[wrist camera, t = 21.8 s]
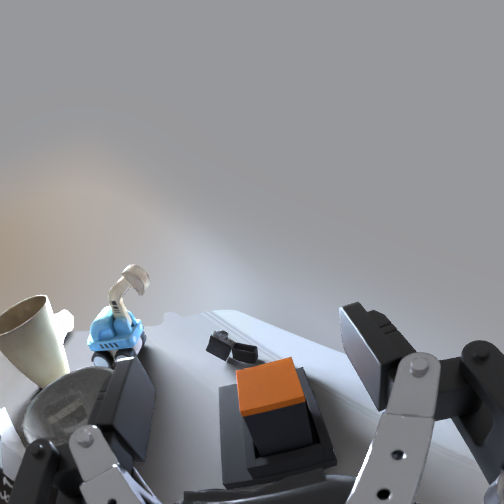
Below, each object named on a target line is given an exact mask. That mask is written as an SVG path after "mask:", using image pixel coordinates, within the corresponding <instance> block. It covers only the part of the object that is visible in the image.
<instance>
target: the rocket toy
mask: <svg viewBox="0 0 504 504" xmlns="http://www.w3.org/2000/svg"><path fill="white" fill-rule="evenodd" d="M0 435H1V441H2V442H3V443H4V444H5V445H6V446H7V447H8V448H10V449H11V450H12V451H13V452H14V453H15V454H17V455H18V456H19V457H20V458H21V459H23V456H24V453H25V451H26V449H25V447H24V446H23V444H22V442H21V440H20V438H19V436H18V434H17V432H16V430H15V428H14V426H13V424H12V422H11V420H10V418H9V416H8V414H7V412H6V410H5V407H4V408H3V409H1V410H0Z"/></svg>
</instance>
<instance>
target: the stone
mask: <svg viewBox="0 0 504 504" xmlns="http://www.w3.org/2000/svg"><path fill="white" fill-rule="evenodd" d="M54 318H55V321H56V324H57V327H58V330H59V333H60V337H61V340H62V344H63V342H64V337H65V336H66V334H67V333H68V332H69V331H71V330H72V329H73V316H72V315H71V314H70V313H69V312H68V311H67V310H64V311H62V312H60V313H58V314H54Z"/></svg>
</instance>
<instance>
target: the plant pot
mask: <svg viewBox="0 0 504 504" xmlns="http://www.w3.org/2000/svg"><path fill="white" fill-rule="evenodd" d="M0 350H1V352H2V353H3V354H4V355H5V356H6V357H7V358H8V360H9V361H10V362H11V363H12V364H13V365H14V366H15V367H16V368H17V369H19V370H20V371H21V372H22V373H23V374H24V375H25V376H26V377H28V378H29V379H30V380H31V381H33V382H34V383H35V384H37V385H38V386H40V387H41V388H43V389H44V388H45V387H46V386H48V385H49V384H50V383H52V382H54V381H55V380H56V379H58V378H60V377H61V376H63V375H65V374H68V373H70V371H69V367H68V363H67V359H66V355H65V351H64V347H63V344H62V340H61V337H60V333H59V330H58V327H57V324H56V321H55V318H54V315H53V312H52V309H51V306H50V304H49V301H48V298H47V296H45V295H38V296H34V297H31V298H28V299H25V300H23V301H21V302H19V303H17V304H15V305H14V306H13V307H11V308H9V309H8V310H6V311H5V312H4V313H2V314H1V315H0Z"/></svg>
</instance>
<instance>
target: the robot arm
mask: <svg viewBox="0 0 504 504" xmlns="http://www.w3.org/2000/svg"><path fill="white" fill-rule="evenodd" d="M339 316H340V326H341V336H342V343H343V347H344V350H345V352H346V354H347V356H348V358H349V360H350V361H351V363H352V365H353V367H354V368H355V370H356V372H357V374H358V376H359V377H360V379H361V381H362V383H363V384H364V386H365V388H366V390H367V392H368V393H369V395H370V397H371V399H372V401H373V402H374V404H375V406H376V408H377V410H378V411H382V410H384V409H386V411H385V412H383V414H382V416H381V418H380V421H379V424H378V427H377V430H376V432H375V435H374V438H373V441H372V443H371V446H370V448H369V451H368V454H367V456H366V459H365V461H364V464H363V466H362V468H361V471H360V473H359V475H358V478H357V477H352V476H346V475H325V472H324V469H323V467H322V468H319V469H315V470H311V471H308V472H304V473H300V474H296V475H292V476H288V477H286V478H283V479H281V480H279V481H277V482H274V483H272V484H270V485H267V486H265V487H262V488H260V489H257V490H255V491H237V490H224V489H209V490H197V491H184V500H183V501H180V502H177V503H175V504H419V503H416V502H415V498H416V495H417V492H418V489H419V486H420V482H421V479H422V475H423V471H424V468H425V464H426V460H427V456H428V452H429V447H430V443H431V438H432V433H433V428H434V422H435V421H438V420H443V419H448V418H451V419H452V421H453V422H454V424H455V426H456V427H457V429H458V431H459V432H460V434H461V436H462V437H463V439H464V441H465V442H466V444H467V446H468V447H469V449H470V451H471V453H472V454H473V456H474V458H475V459H476V461H477V463H478V465H479V467H480V468H481V470H482V472H483V474H484V476H485V477H486V479H487V481H488V483H489V485H490V486H489V488H488V489H487V491H486V493H485V496H484V504H504V355H503V354H502V353H501V352H500V351H499V349H498V348H497V347H496V346H494V345H493V344H492V343H489V342H487V341H480V340H478V341H473V342H470V343H469V344H467V345H466V346H465V347H464V348H463V351H462V355H461V357H456V358H451V359H446V360H438V359H437V358H436V357H435V356H433V355H431V354H428V353H423V352H416V350H415V349H414V348H413V347H412V346H411V345H410V343H409V342H408V341H407V340H406V339H405V338H404V337H403V335H402V334H401V333H400V332H399V331H398V330H397V329H396V327H395V326H394V325H393V324H391V322H390V321H389V319H388V318H387V317H386V316H385V315H384V314H382V313H379V312H377V311H375V310H372V311H369V312H367V311H366V310H365V309H364V308H363V306H362V305H361V304H360V303H359V302H355V303H352V304H349V305H346V306H343V307H340V309H339ZM99 392H100V393H98V396H97V398H96V399H97V401H95V404H94V406H93V409H92V412H91V414H90V417H89V420H88V423H87V425H84V426H82V427H80V428H78V429H77V430H75V431H74V432H73V434H72V435H71V437H70V439H69V443H65V444H61V445H58V446H53V445H52V444H51V443H50V442H49V441H48V440H47V439H45V438H40V439H36V440H34V441H33V442H31V443H30V444H29V446H28V447H27V449H26V451H25V453H24V456H23V459H22V461H21V464H20V467H19V470H18V473H17V476H16V478H15V481H14V485H13V488H12V491H11V494H10V497H9V501H8V504H49V497H50V493H51V489H52V486H54V487H55V488H56V489H57V490H59V491H58V495H57V499H56V504H162V503H161V502H160V501H159V500H158V498H157V497H156V496H155V494H154V493H153V492H152V491H151V489H150V488H149V487H148V485H147V484H146V483H145V481H144V480H143V478H142V477H141V476H140V474H139V473H138V471H137V470H136V469H135V468H134V467H133V463H134V462H145V457H146V451H147V445H148V439H149V433H150V427H151V421H152V416H153V410H154V405H155V399H156V394H155V389H154V386H153V384H152V382H151V380H150V378H149V377H148V375H147V373H146V371H145V370H144V368H143V366H142V364H141V362H140V361H139V359H138V358H137V357H132V358H126V359H120V360H118V361H117V364H116V366H115V369H114V371H113V373H110V374H109V375H108V377H107V378H106V379H105V380H104V381H103V383H102V385H101V388H100V391H99Z"/></svg>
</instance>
